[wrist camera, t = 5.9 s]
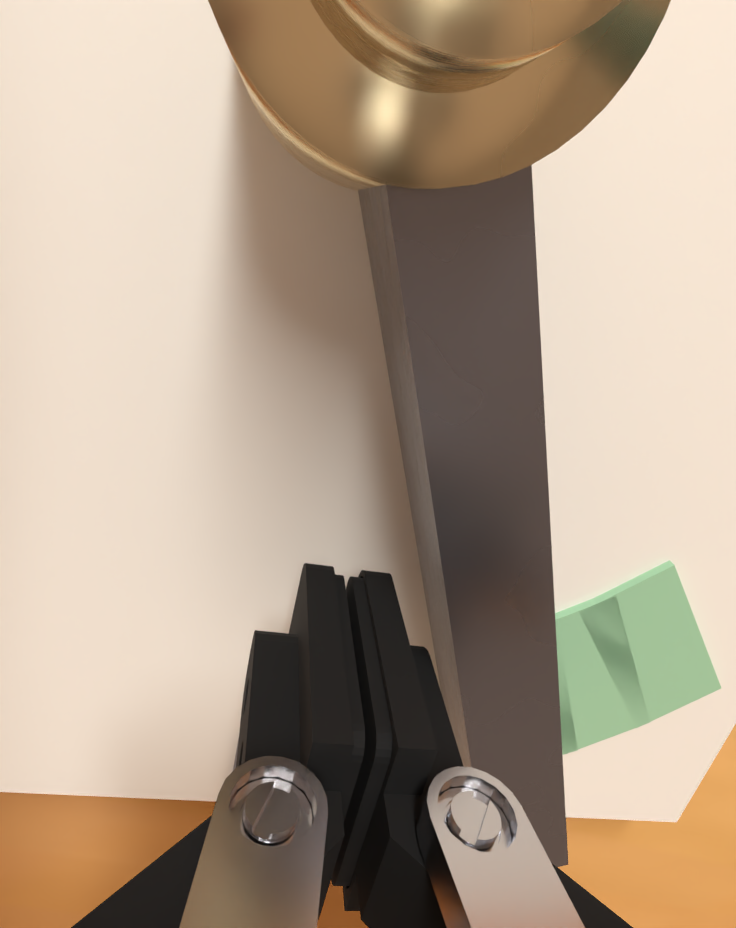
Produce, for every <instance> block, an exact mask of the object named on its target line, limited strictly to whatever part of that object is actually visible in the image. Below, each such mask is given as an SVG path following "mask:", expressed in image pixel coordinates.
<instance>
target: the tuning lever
mask: <svg viewBox="0 0 736 928" xmlns="http://www.w3.org/2000/svg"><path fill="white" fill-rule="evenodd" d="M670 1H671V0H208V2H209V4H210V6H211V9H212V11H213V14H214V16H215V19H216V21H217V24H218V26H219V28H220V31H221V33H222V35H223V37H224V40H225V42H226V44H227V46H228V49H229V51H230V53H231V55H232V57H233V60H234V62H235V64H236V66H237V69H238V71H239V73H240V75H241V78H242V80H243V82H244V84H245V87H246V89H247V91H248V93H249V96H250V98H251V100H252V102H253V104H254V105H255V107H256V109H257V111H258V113H259V115H260V117H261V118H262V120H263V121H264V123H265V124H266V126H267V127H268V129H269V130H270V131H271V133H272V134H273V136H274V137H275V138H276V139H277V140H278V141H279V143H280V144H281V145H282V146H283V147H284V148H285V149H286V150H287V151H288V153H290V154H291V155H292V156H293V157H294V158H295V159H297V160H298V161H299V162H300V163H301V164H302V165H303V166H305V167H306V168H308V169H309V170H311V171H313V172H314V173H316V174H317V175H319V176H320V177H322V178H324V179H326V180H328V181H331V182H333V183H335V184H337V185H340V186H343V187H346V188H349V189H352V190H357V191H358V194H359V200H360V206H361V212H362V218H363V224H364V230H365V236H366V242H367V248H368V254H369V260H370V266H371V273H372V279H373V285H374V291H375V297H376V303H377V309H378V315H379V321H380V327H381V333H382V339H383V345H384V351H385V357H386V363H387V369H388V375H389V381H390V387H391V393H392V399H393V405H394V411H395V418H396V424H397V430H398V436H399V442H400V448H401V454H402V460H403V466H404V472H405V478H406V484H407V490H408V496H409V502H410V508H411V514H412V520H413V526H414V532H415V538H416V544H417V550H418V556H419V562H420V569H421V575H422V581H423V587H424V593H425V599H426V605H427V611H428V617H429V623H430V629H431V635H432V641H433V647H434V653H435V659H436V665H437V671H438V677H439V683H440V689H441V693H442V697H443V700H444V703H445V707H446V710H447V713H448V717H449V720H450V723H451V726H452V730H453V733H454V736H455V740H456V743H457V746H458V750H459V753H460V756H461V760H462V763H463V766H464V767H472V768H475V769H478V770H481V771H484V772H486V773H488V774H490V775H491V776H493V777H495V778H496V779H498V780H500V781H501V782H502V783H503V784H504V785H505V786H506V787H507V788H508V789H509V790H510V791H511V792H512V793H513V794H514V796H515V797H516V799H517V800H518V802H519V803H520V805H521V806H522V808H523V810H524V812H525V814H526V816H527V817H528V819H529V821H530V823H531V825H532V827H533V829H534V831H535V833H536V835H537V837H538V839H539V840H540V842H541V844H542V846H543V848H544V850H545V852H546V854H547V856H548V858H549V860H550V861H551V863H552V864H554V865H555V866H556V867H560V866H564V865H568V851H567V832H566V813H565V794H564V775H563V756H562V737H561V717H560V698H559V679H558V660H557V641H556V622H555V603H554V584H553V565H552V546H551V526H550V507H549V488H548V469H547V450H546V431H545V412H544V393H543V374H542V355H541V336H540V316H539V297H538V278H537V259H536V240H535V221H534V202H533V183H532V164H534V163H535V162H537V161H539V160H541V159H542V158H544V157H546V156H547V155H549V154H551V153H552V152H554V151H556V150H557V149H559V148H560V147H561V146H563V145H564V144H565V143H566V142H568V141H569V140H570V139H572V138H573V137H574V136H575V135H577V134H578V133H579V132H581V131H582V130H583V129H584V128H585V127H586V126H587V125H588V124H589V123H590V122H591V121H592V120H593V119H594V118H595V117H596V116H597V115H598V114H599V113H600V112H601V111H602V110H603V109H604V108H605V107H606V106H607V105H608V104H609V102H610V101H611V100H612V99H613V98H614V96H615V95H616V94H617V93H618V91H619V90H620V89H621V88H622V86H623V85H624V84H625V83H626V82H627V80H628V79H629V77H630V76H631V74H632V73H633V71H634V70H635V68H636V66H637V65H638V63H639V62H640V60H641V59H642V57H643V56H644V54H645V53H646V51H647V49H648V48H649V46H650V44H651V42H652V40H653V38H654V36H655V34H656V32H657V30H658V28H659V26H660V24H661V22H662V20H663V18H664V16H665V14H666V11H667V9H668V6H669V4H670Z"/></svg>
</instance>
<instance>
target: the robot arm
mask: <svg viewBox="0 0 736 928" xmlns="http://www.w3.org/2000/svg"><path fill="white" fill-rule="evenodd" d="M330 880H331V881H332V884H333V886H343V895H344V908H345V911H360V914H361V920H362V921H363V922H364V923H365V924H366V925H367V926H368V927H369V928H633V927H631V926H630V925H629V924H628V923H626V922H625V921H624V920H623V919H621V918H620V917H619V916H618V915H616V914H615V913H614V912H613V911H611V910H610V909H609V908H608V907H606V906H605V905H604V904H603V903H601V902H600V901H599V900H598V899H596V898H595V897H594V896H593V895H591V894H590V893H589V892H588V891H586V890H585V889H584V888H582V887H581V886H580V885H579V884H577V883H576V882H575V881H574V880H572V879H571V878H570V877H569V876H567V875H566V874H565V873H564V872H562V871H561V870H560V869H559V868H557V867H556V866H555V865H554V864H552V863H551V861H550V860H549V858H548V856H547V854H546V852H545V850H544V848H543V846H542V844H541V842H540V840H539V839H538V837H537V835H536V833H535V831H534V829H533V827H532V825H531V823H530V821H529V819H528V817H527V816H526V814H525V812H524V810H523V808H522V806H521V805H520V803H519V802H518V800H517V799H516V797H515V796H514V794H513V793H512V792H511V791H510V790H509V789H508V788H507V787H506V786H505V785H504V784H503V783H502V782H501V781H500V780H498V779H496V778H495V777H493V776H491V775H490V774H488V773H486V772H484V771H481V770H478V769H475V768H472V767H464V766H463V763H462V760H461V756H460V753H459V750H458V746H457V743H456V740H455V736H454V733H453V730H452V726H451V723H450V720H449V717H448V713H447V710H446V707H445V703H444V700H443V697H442V693H441V690H440V687H439V684H438V680H437V677H436V674H435V670H434V667H433V664H432V660H431V657H430V654H429V652H428V650H427V649H426V648H425V647H422V646H412V645H410V643H409V639H408V635H407V631H406V628H405V624H404V620H403V616H402V613H401V609H400V605H399V601H398V598H397V594H396V590H395V586H394V582H393V579H392V576H391V574H390V573H383V572H375V571H366V570H362V571H361V572H360V574H359V576H358V577H352V576H350V577H349V579H348V583H347V586H346V587H345V580H344V576H343V575H336V574H335V571H334V567H333V566H326V565H317V564H309V563H304V565H303V568H302V573H301V577H300V582H299V587H298V591H297V596H296V601H295V606H294V610H293V615H292V620H291V625H290V629H289V633H278V632H268V631H258V630H255V631H254V635H253V639H252V644H251V650H250V655H249V661H248V667H247V673H246V679H245V686H244V694H243V702H242V711H241V721H240V731H239V741H238V752H237V762H236V768H235V769H234V771H233V772H232V773H231V774H230V775H229V776H228V777H227V778H226V779H225V781H224V783H223V785H222V787H221V789H220V791H219V793H218V797H217V800H216V804H215V807H214V810H213V814H212V816H210V817H209V818H208V819H207V820H205V821H204V822H203V823H202V824H200V825H199V826H198V827H197V828H195V829H194V830H193V831H192V832H190V833H189V834H188V835H187V836H185V837H184V838H183V839H182V840H180V841H179V842H178V843H177V844H175V845H174V846H173V847H172V848H170V849H169V850H168V851H167V852H165V853H164V854H163V855H162V856H160V857H159V858H158V859H157V860H155V861H154V862H153V863H152V864H150V865H149V866H148V867H147V868H145V869H144V870H143V871H142V872H140V873H139V874H138V875H137V876H135V877H134V878H133V879H132V880H130V881H129V882H128V883H127V884H125V885H124V886H123V887H121V888H120V889H119V890H118V891H116V892H115V893H114V894H113V895H111V896H110V897H109V898H108V899H106V900H105V901H104V902H103V903H101V904H100V905H99V906H98V907H96V908H95V909H94V910H93V911H91V912H90V913H89V914H88V915H86V916H85V917H84V918H83V919H81V920H80V921H79V922H78V923H76V924H75V925H74V926H73V927H71V928H317V921H318V919H319V916H320V913H321V910H322V907H323V903H324V900H325V897H326V893H327V890H328V887H329V884H330Z"/></svg>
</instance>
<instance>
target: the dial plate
mask: <svg viewBox="0 0 736 928" xmlns="http://www.w3.org/2000/svg"><path fill="white" fill-rule="evenodd" d="M532 183H533V202H534V221H535V240H536V259H537V278H538V297H539V316H540V336H541V355H542V374H543V393H544V412H545V431H546V450H547V469H548V488H549V507H550V526H551V546H552V565H553V584H554V603H555V622H556V641H557V660H558V679H559V698H560V717H561V737H562V756H563V775H564V794H565V813H566V817H573V818H596V819H618V820H640V821H663V822H677V821H678V819H679V818H680V816H681V814H682V813H683V811H684V809H685V807H686V806H687V804H688V802H689V801H690V799H691V797H692V796H693V794H694V792H695V791H696V789H697V787H698V786H699V784H700V782H701V781H702V779H703V777H704V776H705V774H706V772H707V771H708V769H709V767H710V766H711V764H712V762H713V761H714V759H715V757H716V756H717V754H718V752H719V751H720V749H721V747H722V746H723V744H724V742H725V741H726V739H727V737H728V735H729V734H730V732H731V730H732V729H733V727H734V725H735V724H736V0H671V1H670V4H669V6H668V9H667V11H666V14H665V16H664V18H663V20H662V22H661V24H660V26H659V28H658V30H657V32H656V34H655V36H654V38H653V40H652V42H651V44H650V46H649V48H648V49H647V51H646V53H645V54H644V56H643V57H642V59H641V60H640V62H639V63H638V65H637V66H636V68H635V70H634V71H633V73H632V74H631V76H630V77H629V79H628V80H627V82H626V83H625V84H624V85H623V86H622V88H621V89H620V90H619V91H618V93H617V94H616V95H615V96H614V98H613V99H612V100H611V101H610V102H609V104H608V105H607V106H606V107H605V108H604V109H603V110H602V111H601V112H600V113H599V114H598V115H597V116H596V117H595V118H594V119H593V120H592V121H591V122H590V123H589V124H588V125H587V126H586V127H585V128H584V129H583V130H582V131H581V132H579V133H578V134H577V135H575V136H574V137H573V138H572V139H570V140H569V141H568V142H566V143H565V144H564V145H563V146H561V147H560V148H559V149H557V150H556V151H554V152H552V153H551V154H549V155H547V156H546V157H544V158H542V159H541V160H539V161H537V162H535V163H534V164H532ZM304 563H309V564H317V565H326V566H333V567H334V571H335V574H336V575H343V576H344V580H345V587H346V586H347V583H348V579H349V577H350V576H352V577H358V576H359V574H360V572H361V571H362V570H366V571H375V572H383V573H390V574H391V576H392V579H393V582H394V586H395V590H396V594H397V598H398V601H399V605H400V609H401V613H402V616H403V620H404V624H405V628H406V631H407V635H408V639H409V643H410V645H412V646H422V647H425V648H426V649H427V650H428V652H429V654H430V657H431V660H432V664H433V667H434V670H435V674H436V677H437V680H438V684H439V687H440V683H439V677H438V671H437V665H436V659H435V653H434V647H433V641H432V635H431V629H430V623H429V617H428V611H427V605H426V599H425V593H424V587H423V581H422V575H421V569H420V562H419V556H418V550H417V544H416V538H415V532H414V526H413V520H412V514H411V508H410V502H409V496H408V490H407V484H406V478H405V472H404V466H403V460H402V454H401V448H400V442H399V436H398V430H397V424H396V418H395V411H394V405H393V399H392V393H391V387H390V381H389V375H388V369H387V363H386V357H385V351H384V345H383V339H382V333H381V327H380V321H379V315H378V309H377V303H376V297H375V291H374V285H373V279H372V273H371V266H370V260H369V254H368V248H367V242H366V236H365V230H364V224H363V218H362V212H361V206H360V200H359V194H358V191H357V190H352V189H349V188H346V187H343V186H340V185H337V184H335V183H333V182H331V181H328V180H326V179H324V178H322V177H320V176H319V175H317V174H316V173H314V172H313V171H311V170H309V169H308V168H306V167H305V166H303V165H302V164H301V163H300V162H299V161H298V160H297V159H295V158H294V157H293V156H292V155H291V154H290V153H288V151H287V150H286V149H285V148H284V147H283V146H282V145H281V144H280V143H279V141H278V140H277V139H276V138H275V137H274V136H273V134H272V133H271V131H270V130H269V129H268V127H267V126H266V124H265V123H264V121H263V120H262V118H261V117H260V115H259V113H258V111H257V109H256V107H255V105H254V104H253V102H252V100H251V98H250V96H249V93H248V91H247V89H246V87H245V84H244V82H243V80H242V78H241V75H240V73H239V71H238V69H237V66H236V64H235V62H234V60H233V57H232V55H231V53H230V51H229V49H228V46H227V44H226V42H225V40H224V37H223V35H222V33H221V31H220V28H219V26H218V24H217V21H216V19H215V16H214V14H213V11H212V9H211V6H210V4H209V2H208V0H0V792H14V793H36V794H59V795H81V796H103V797H126V798H148V799H170V800H193V801H215V802H216V800H217V797H218V793H219V791H220V789H221V787H222V785H223V783H224V781H225V779H226V778H227V777H228V776H229V775H230V774H231V773H232V772H233V771H234V769H235V768H236V762H237V752H238V741H239V731H240V721H241V711H242V702H243V694H244V686H245V679H246V673H247V667H248V661H249V655H250V650H251V644H252V639H253V635H254V631H255V630H258V631H268V632H278V633H289V629H290V625H291V620H292V615H293V610H294V606H295V601H296V596H297V591H298V587H299V582H300V577H301V573H302V568H303V565H304ZM440 690H441V689H440Z"/></svg>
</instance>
